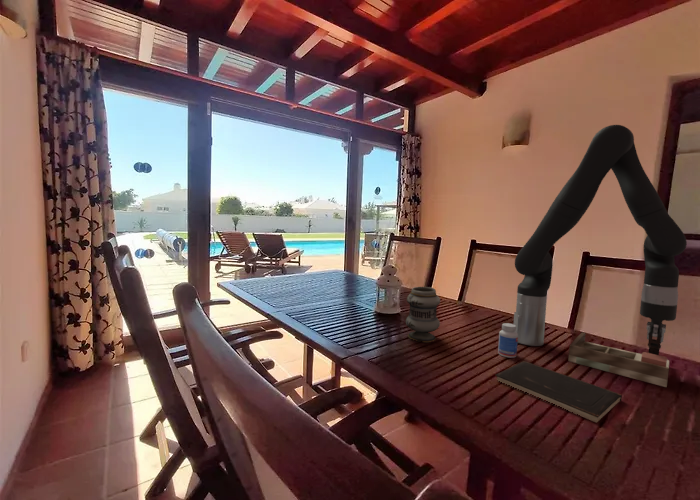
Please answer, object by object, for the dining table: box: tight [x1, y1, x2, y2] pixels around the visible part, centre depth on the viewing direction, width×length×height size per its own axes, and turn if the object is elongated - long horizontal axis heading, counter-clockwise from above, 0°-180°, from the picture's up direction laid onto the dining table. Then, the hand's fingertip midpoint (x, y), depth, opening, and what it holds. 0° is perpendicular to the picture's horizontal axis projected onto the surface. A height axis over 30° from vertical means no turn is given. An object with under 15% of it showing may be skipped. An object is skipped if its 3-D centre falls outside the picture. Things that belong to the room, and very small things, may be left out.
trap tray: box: [567, 331, 670, 388], centre depth 101 cm, size 22×18×5 cm
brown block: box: [641, 351, 668, 367], centre depth 92 cm, size 5×5×4 cm
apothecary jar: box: [405, 286, 441, 343], centre depth 120 cm, size 12×12×18 cm
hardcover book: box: [494, 360, 623, 423], centre depth 84 cm, size 16×23×2 cm
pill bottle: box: [497, 322, 519, 359], centre depth 106 cm, size 6×5×10 cm
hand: (652, 360), depth 95 cm, fingers closed
